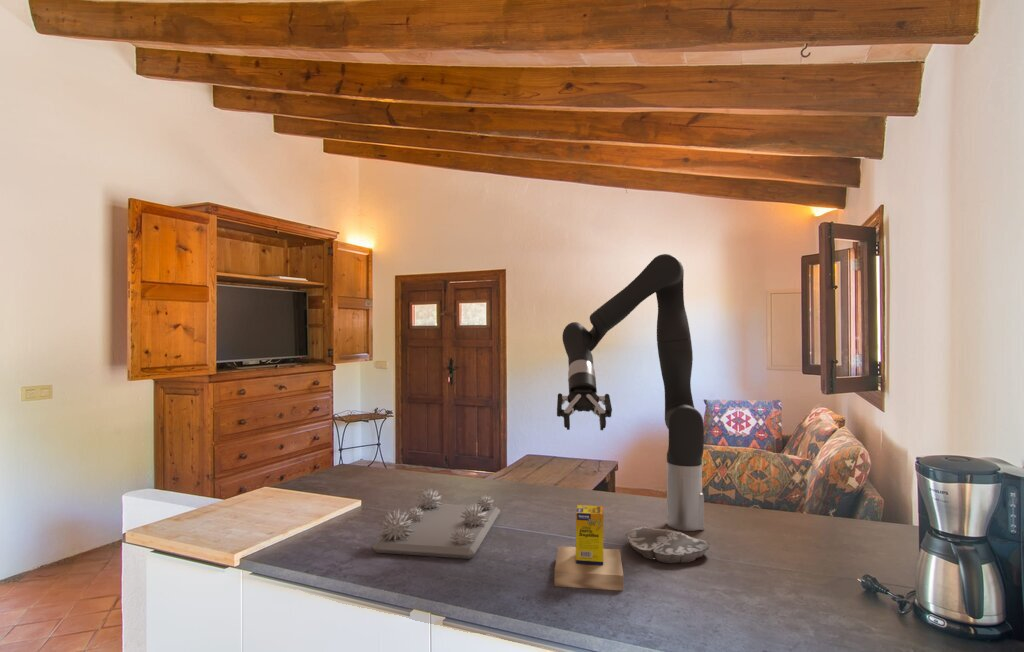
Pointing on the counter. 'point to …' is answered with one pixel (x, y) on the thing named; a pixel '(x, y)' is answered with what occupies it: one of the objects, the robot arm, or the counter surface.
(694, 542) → the brain slice
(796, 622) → the counter surface
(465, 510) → the decorative tray
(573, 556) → the oak base board
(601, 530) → the supplement box
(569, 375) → the robot arm
